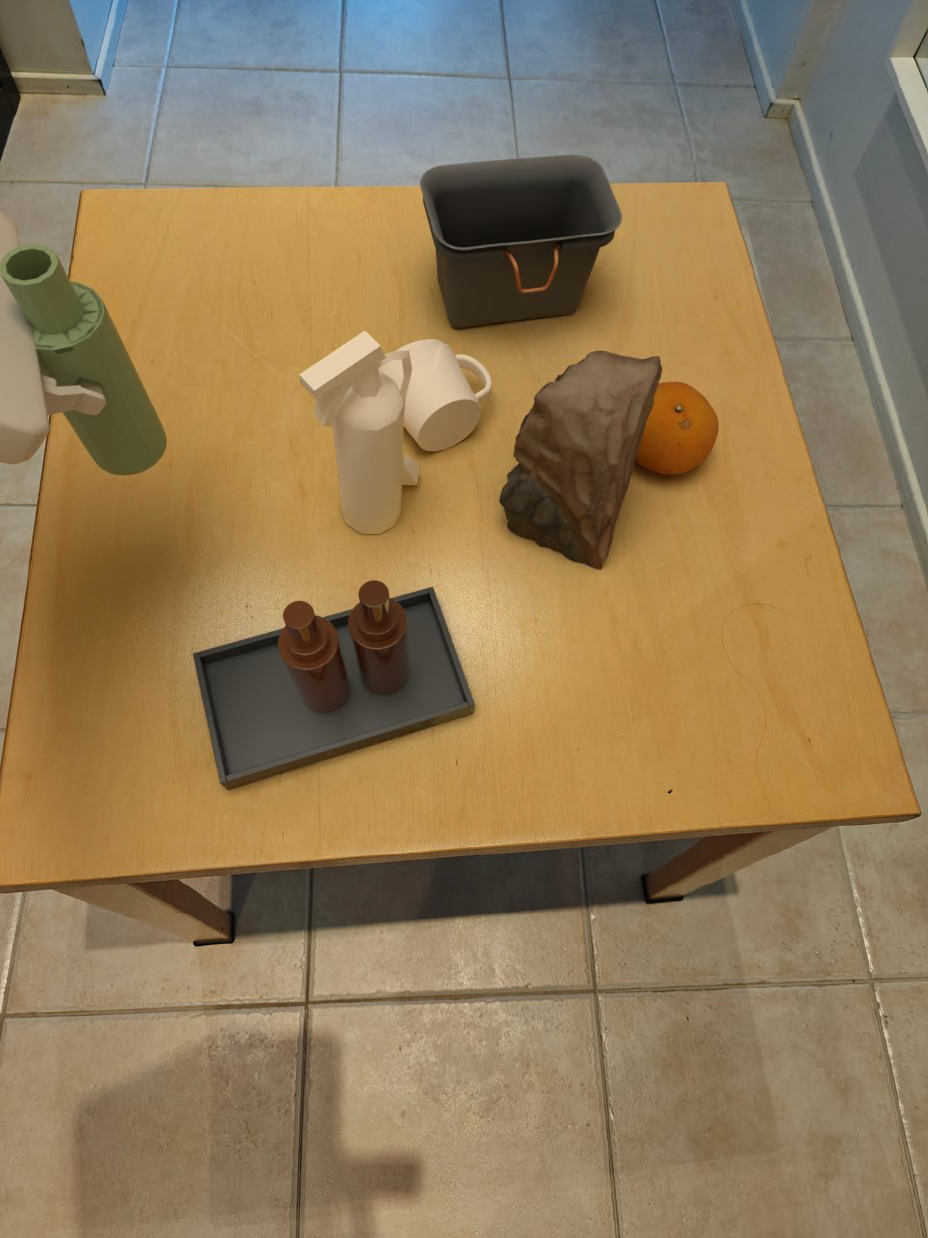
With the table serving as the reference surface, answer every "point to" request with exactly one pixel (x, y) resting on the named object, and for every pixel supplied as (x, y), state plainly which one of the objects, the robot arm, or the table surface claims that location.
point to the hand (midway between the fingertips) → (93, 361)
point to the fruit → (677, 430)
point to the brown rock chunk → (580, 454)
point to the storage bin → (517, 234)
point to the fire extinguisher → (365, 430)
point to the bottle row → (319, 654)
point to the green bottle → (86, 360)
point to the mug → (439, 393)
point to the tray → (296, 736)
